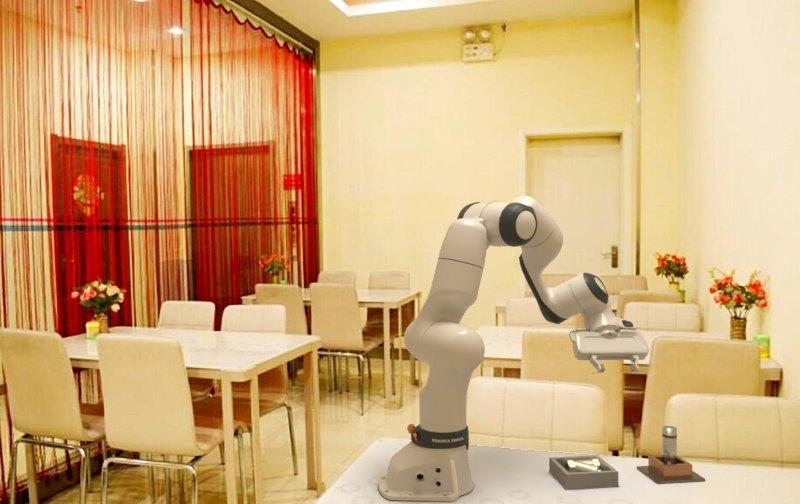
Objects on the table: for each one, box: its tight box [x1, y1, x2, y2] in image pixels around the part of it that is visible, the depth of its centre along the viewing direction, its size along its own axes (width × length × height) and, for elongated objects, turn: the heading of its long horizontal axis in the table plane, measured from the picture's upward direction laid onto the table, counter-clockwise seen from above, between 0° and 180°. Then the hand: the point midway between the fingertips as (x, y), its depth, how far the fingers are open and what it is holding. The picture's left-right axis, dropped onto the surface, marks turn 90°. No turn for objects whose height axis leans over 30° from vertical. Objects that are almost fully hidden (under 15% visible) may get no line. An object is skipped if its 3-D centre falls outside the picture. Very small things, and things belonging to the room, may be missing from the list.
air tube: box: [661, 425, 678, 464], centre depth 154 cm, size 3×3×11 cm
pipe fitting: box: [564, 459, 601, 473], centre depth 154 cm, size 8×4×7 cm
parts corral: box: [548, 454, 619, 490], centre depth 152 cm, size 12×12×4 cm
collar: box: [636, 454, 706, 485], centre depth 154 cm, size 12×10×4 cm
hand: (618, 371), depth 167 cm, fingers open, 8 cm apart
